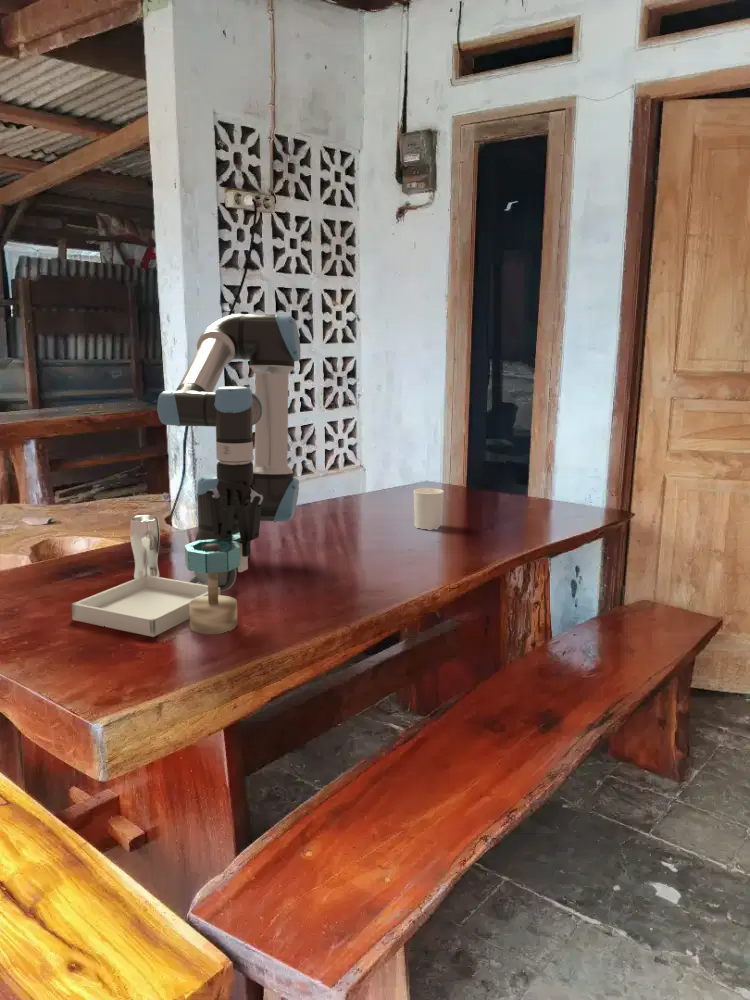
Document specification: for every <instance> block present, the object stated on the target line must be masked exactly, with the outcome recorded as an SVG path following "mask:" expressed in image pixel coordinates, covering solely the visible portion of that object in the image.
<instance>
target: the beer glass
mask: <svg viewBox="0 0 750 1000" xmlns="http://www.w3.org/2000/svg"><path fill="white" fill-rule="evenodd" d="M129 526H130V527H129V536H130V544H131V550H132V554H133V558H134V573H133V579H136V578H138V577H141V576H143V575H150V576H156V577H160V571H159V567H158V557H159V550H160V540H161V532H160V531H161V530H160V523H159V517H158V516H157V515H149V514H142V515H141V514H140V515H135V516H132V517H130V525H129Z"/></svg>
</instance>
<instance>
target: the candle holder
mask: <svg viewBox="0 0 750 1000" xmlns="http://www.w3.org/2000/svg"><path fill="white" fill-rule="evenodd" d="M412 492H413V520H414V528H415V527H416V528H415V529H417V528H421V529H435V528H439V527H440V528H441V523H442V514H443V504H444V494H445V490H443V489H440V488H435V487H434V488H433V487H419V488H415V489H413V491H412ZM440 528H439V529H440ZM421 529H420V530H421Z"/></svg>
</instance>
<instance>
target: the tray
mask: <svg viewBox="0 0 750 1000" xmlns="http://www.w3.org/2000/svg"><path fill="white" fill-rule="evenodd" d="M218 595H221V592H220V588H219V587H218ZM203 596H208V585H202V584H201V583H190V582H189V581H184V580H177V579H173V578H172V579H171V578H166V577H161V576H159V577H156V576H150V575H143V576H141V577H138V578H136V579H135V578H133V579H131V580H128V581H126V582H124V583H121V584H119V585H117V586H114V587H111V588H108V589H106V590H103V591H101V592H98V593H96V594H93V595H91V596H89V597H86V598H83V599H80V600H79V601H75V602H73V603H71V612H72V613H71V615H72V617H71V618H72V621H76V622H80V623H81V622H82V623H86V624H91V625H95V626H100V627H104V626H105V627H104V628H109V629H113V630H117V631H118V630H119V631H122V632H127V633H132V634H138V635H142V636H147V637H152V638H154V637H156V636H158V635H160V634H162V633H164V632H166V631H167V630H170V629H171V628H173V627H176V626H177V625H180V624H182V623H184V622H185V621H188V620H190V607H189V604H190V602H191V601H192V600H194V599H196V598H199V597H203Z"/></svg>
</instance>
